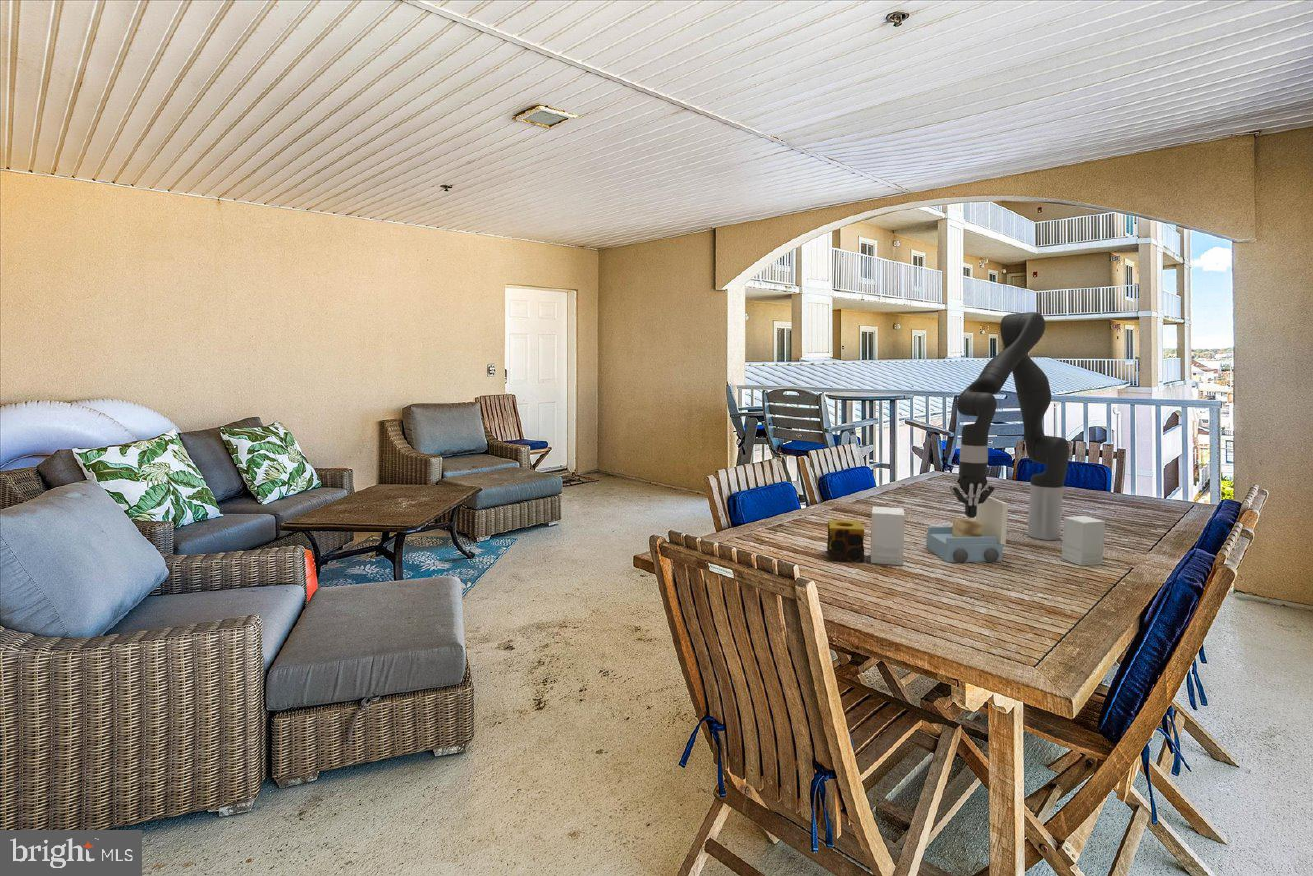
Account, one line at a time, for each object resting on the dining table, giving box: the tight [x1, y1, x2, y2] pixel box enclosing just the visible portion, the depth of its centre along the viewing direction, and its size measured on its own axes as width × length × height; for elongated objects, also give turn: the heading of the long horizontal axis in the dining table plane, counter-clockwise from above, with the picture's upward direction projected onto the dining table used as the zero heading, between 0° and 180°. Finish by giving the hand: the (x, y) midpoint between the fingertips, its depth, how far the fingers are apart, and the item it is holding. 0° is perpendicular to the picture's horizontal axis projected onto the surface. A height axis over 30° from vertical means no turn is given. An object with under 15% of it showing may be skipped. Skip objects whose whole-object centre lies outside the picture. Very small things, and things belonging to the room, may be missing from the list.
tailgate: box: [975, 495, 1009, 545], centre depth 195 cm, size 1×14×12 cm, turn 2°
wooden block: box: [952, 518, 983, 537], centre depth 196 cm, size 6×6×5 cm
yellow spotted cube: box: [826, 519, 865, 563], centre depth 195 cm, size 10×10×10 cm
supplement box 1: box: [870, 506, 906, 566], centre depth 191 cm, size 9×9×15 cm
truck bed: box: [925, 525, 1004, 564], centre depth 196 cm, size 16×16×7 cm
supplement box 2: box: [1061, 515, 1106, 567], centre depth 189 cm, size 7×7×13 cm
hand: (970, 517), depth 195 cm, fingers closed
